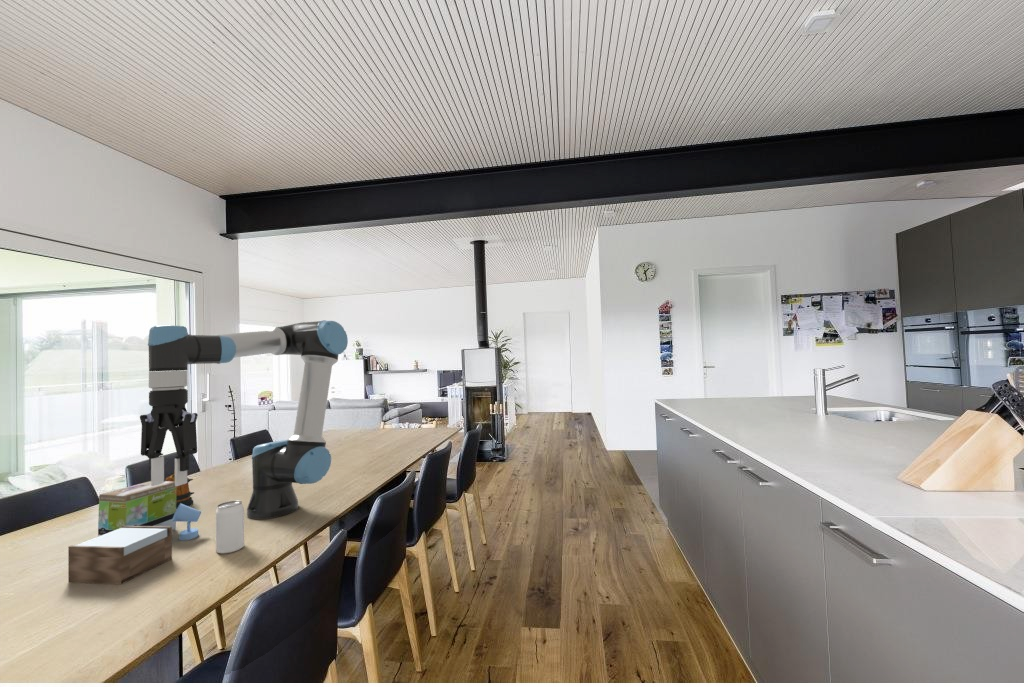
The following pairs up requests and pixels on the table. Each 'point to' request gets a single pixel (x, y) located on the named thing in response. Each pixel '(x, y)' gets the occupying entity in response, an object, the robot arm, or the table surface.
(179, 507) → the spotlight
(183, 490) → the mug
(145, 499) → the tea box
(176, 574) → the table surface
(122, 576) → the walnut box
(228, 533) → the can
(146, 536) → the cover plate
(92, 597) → the table surface
